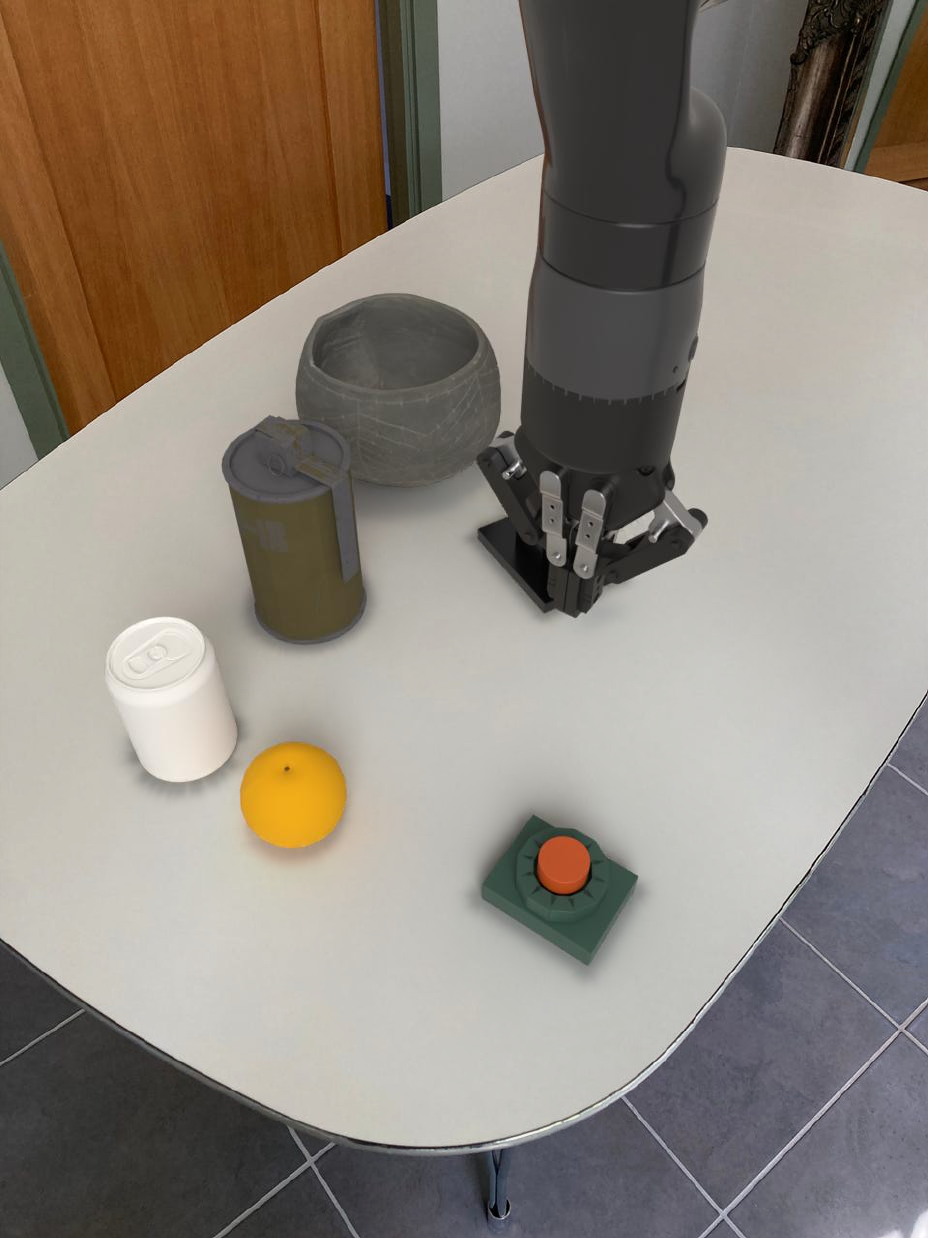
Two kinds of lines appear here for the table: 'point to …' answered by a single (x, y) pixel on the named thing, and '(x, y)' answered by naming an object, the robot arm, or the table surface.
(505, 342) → the table surface
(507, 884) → the button box
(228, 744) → the beverage can
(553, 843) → the button
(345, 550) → the canister
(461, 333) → the bowl
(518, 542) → the bracket
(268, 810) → the orange
